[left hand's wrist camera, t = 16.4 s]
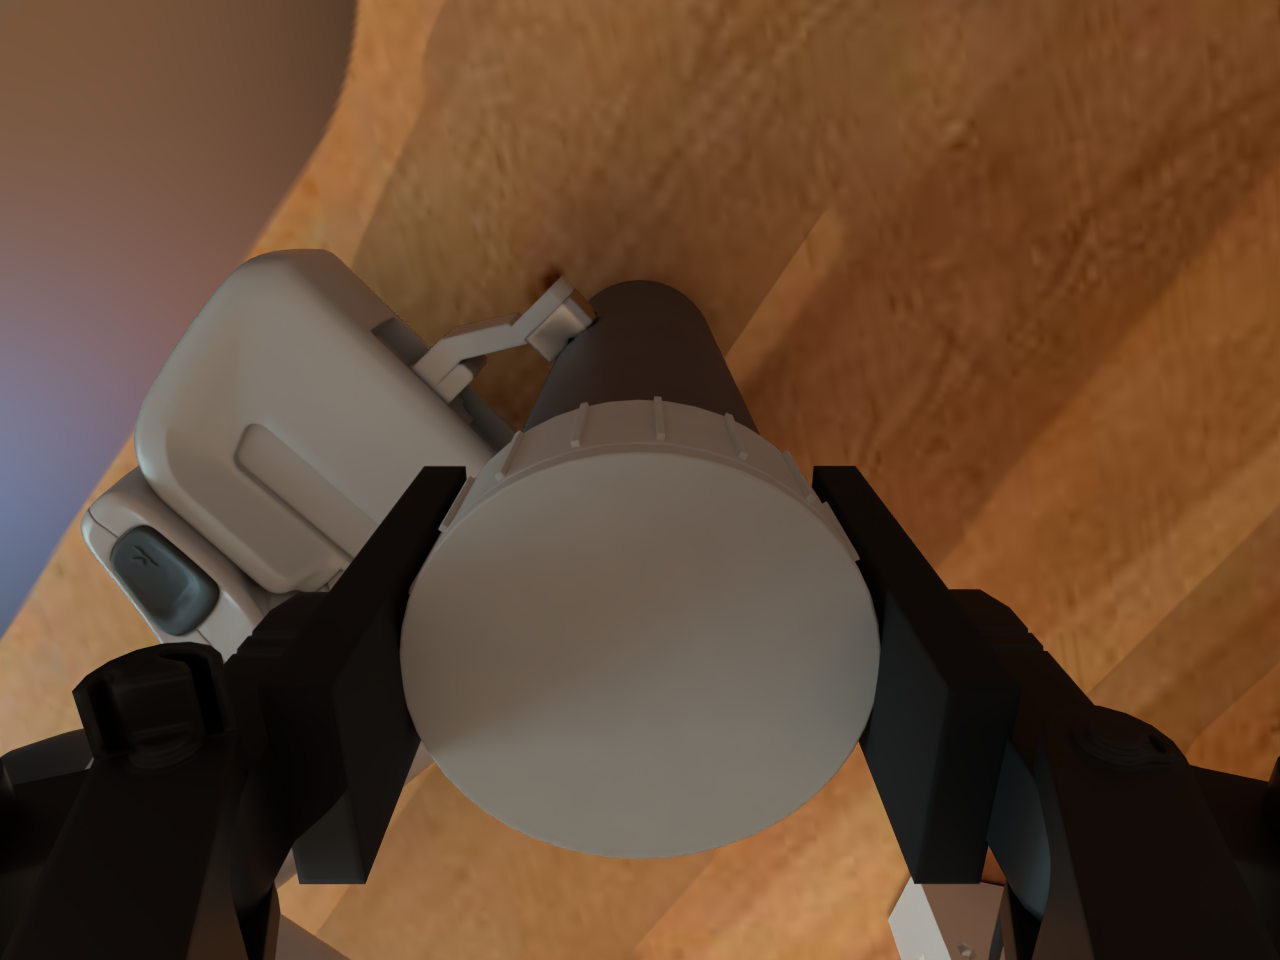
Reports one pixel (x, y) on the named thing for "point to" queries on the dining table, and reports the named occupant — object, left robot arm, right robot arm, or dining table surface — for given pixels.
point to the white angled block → (946, 921)
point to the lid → (640, 634)
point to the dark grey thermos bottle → (641, 357)
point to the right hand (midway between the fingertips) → (661, 382)
